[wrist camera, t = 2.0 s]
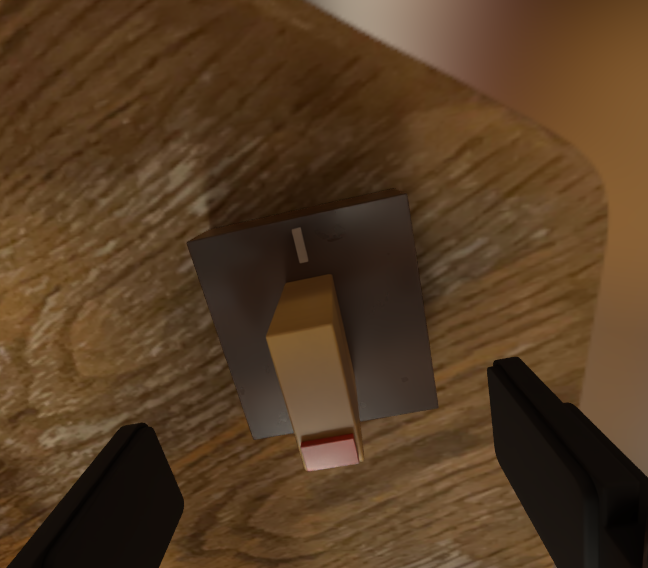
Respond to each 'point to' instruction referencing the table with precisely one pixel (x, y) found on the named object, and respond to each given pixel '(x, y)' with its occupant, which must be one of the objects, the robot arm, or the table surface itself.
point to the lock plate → (352, 293)
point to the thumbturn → (316, 373)
